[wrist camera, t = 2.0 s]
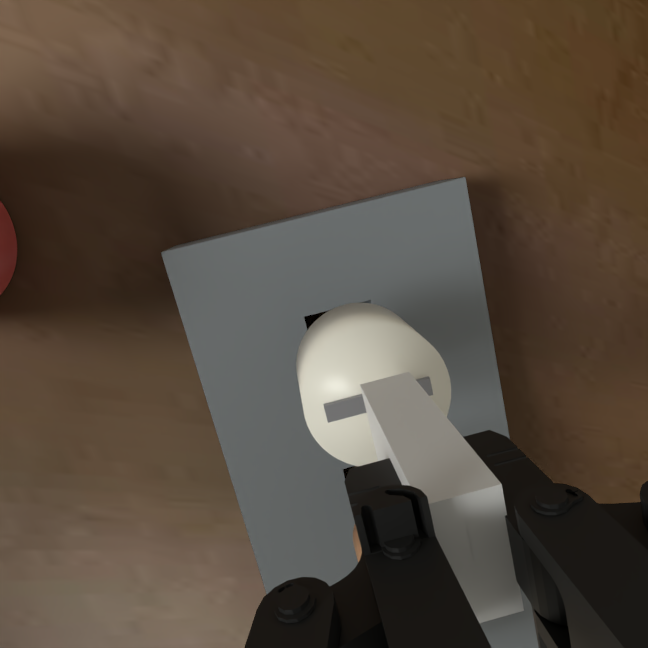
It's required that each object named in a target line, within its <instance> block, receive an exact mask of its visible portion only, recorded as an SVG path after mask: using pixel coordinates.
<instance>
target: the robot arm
mask: <svg viewBox="0 0 648 648" xmlns="http://www.w3.org/2000/svg"><path fill="white" fill-rule="evenodd" d="M360 387H361V391H362V395H363V399H364V404H365V408H366V412H367V416H368V421H369V425H370V429H371V433H372V438H373V442H374V446H375V450H376V455H377V459H378V461H377V462H373V463H369V464H366V465H362V466H358V467H354V468H351V469H350V470H349V472H348V474H347V477H346V479H345V481H344V482H345V486H346V490H347V494H348V498H349V502H350V506H351V510H352V514H353V518H354V521H355V525H356V529H357V533H358V537H359V541H360V545H361V548H362V554H361V558H360V561H359V562H358V564H357V566H356V567H355V568H354V569H353V570H352V571H351V572H350V573H349V574H348V575H347V576H346V577H344V578H343V579H341V580H340V581H339V582H337V583H335V584H333V585H331V586H329V585H328V584H327V583H326V582H325V581H322V580H320V579H318V578H315V577H299V578H295V579H291V580H287V581H286V582H284V583H282V584H280V585H278V586H276V587H274V588H273V589H272V590H271V591H270V592H269V593H268V594H267V595H266V596H265V597H264V598H263V600H262V601H261V603H260V605H259V607H258V609H257V611H256V614H255V617H254V620H253V624H252V627H251V630H250V633H249V636H248V639H247V642H246V645H245V648H492V647H491V645H490V643H489V641H488V639H487V637H486V635H485V633H484V632H483V630H482V628H481V626H480V624H479V623H482V622H486V621H489V620H493V619H496V618H500V617H503V616H507V615H511V614H514V613H518V612H521V611H524V608H523V602H522V596H521V591H520V587H521V589H522V591H523V592H524V594H525V595H526V597H527V598H528V600H529V601H530V603H531V606H532V611H533V617H534V623H535V629H536V634H537V640H538V646H539V648H648V481H647V482H646V483H644V484H643V485H642V487H641V491H640V500H641V502H637V503H619V504H598V503H596V502H595V501H594V500H593V499H592V498H591V497H590V496H589V495H588V494H586V493H585V492H583V491H581V490H580V489H578V488H576V487H572V486H569V485H566V484H556V483H553V482H552V481H551V480H550V479H549V478H548V477H547V476H546V475H545V474H544V473H543V472H542V471H541V470H540V469H539V468H538V467H537V466H536V465H535V464H534V463H533V462H532V461H531V460H530V459H529V458H526V455H525V454H524V453H523V452H522V451H521V450H520V449H518V448H517V446H516V445H515V444H514V443H513V442H512V441H511V440H510V439H509V438H508V437H507V436H504V435H501V434H499V433H496V432H494V431H491V430H487V431H483V432H479V433H475V434H472V435H468V436H464V437H462V435H461V434H460V433H459V432H458V430H457V429H456V428H455V427H454V426H453V424H452V423H451V422H450V421H449V420H448V418H447V417H446V416H445V415H444V413H443V412H442V411H441V410H440V409H439V407H438V406H437V405H436V404H435V403H434V401H433V400H432V399H431V398H430V396H429V395H428V394H427V393H426V392H425V390H424V389H423V388H422V387H421V386H420V384H419V383H418V382H417V381H416V379H415V378H414V377H413V376H412V375H411V373H410V372H406V373H402V374H398V375H394V376H391V377H387V378H383V379H379V380H375V381H371V382H368V383H364V384H360Z"/></svg>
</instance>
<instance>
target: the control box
mask: <svg viewBox="0 0 648 648" xmlns="http://www.w3.org/2000/svg"><path fill="white" fill-rule="evenodd" d="M161 255H162V258H163V261H164V264H165V267H166V271H167V274H168V277H169V280H170V284H171V287H172V290H173V293H174V296H175V300H176V303H177V306H178V309H179V313H180V316H181V319H182V322H183V326H184V329H185V332H186V335H187V338H188V342H189V345H190V348H191V351H192V355H193V358H194V361H195V364H196V367H197V371H198V374H199V377H200V380H201V384H202V387H203V390H204V393H205V397H206V400H207V403H208V406H209V409H210V413H211V416H212V419H213V422H214V426H215V429H216V432H217V435H218V438H219V442H220V445H221V448H222V451H223V455H224V458H225V461H226V464H227V468H228V471H229V474H230V477H231V480H232V484H233V487H234V490H235V493H236V497H237V500H238V503H239V506H240V509H241V513H242V516H243V519H244V522H245V526H246V529H247V532H248V535H249V538H250V542H251V545H252V548H253V551H254V555H255V558H256V561H257V564H258V568H259V571H260V574H261V577H262V580H263V584H264V587H265V590H266V593H267V594H268V593H269V592H270V591H271V590H272V589H273V588H274V587H276V586H278V585H280V584H282V583H284V582H286V581H287V580H291V579H295V578H299V577H315V578H318V579H320V580H322V581H325V582H326V583H327V584H328V585H329V586H331V585H333V584H335V583H337V582H339V581H340V580H341V579H343V578H344V577H346V576H347V575H348V574H349V573H350V572H351V571H352V570H353V569H354V568H355V567H356V566H357V564H358V560H357V556H356V552H355V548H354V544H353V529H354V525H355V521H354V518H353V514H352V510H351V506H350V502H349V498H348V494H347V490H346V486H345V482H344V481H345V476H344V472H343V469H345V468H349V467H353V466H354V465H351V464H348V463H345V462H343V461H341V460H338V459H337V458H335V457H333V456H332V455H330V454H329V453H328V452H327V451H325V450H324V449H323V448H322V447H321V446H320V445H319V444H318V443H317V441H316V440H315V438H314V437H313V436H312V434H311V432H310V430H309V428H308V426H307V423H306V420H305V417H304V411H303V406H302V400H301V394H300V389H299V383H298V377H297V370H296V360H297V353H298V349H299V346H300V343H301V340H302V339H303V337H304V335H305V333H306V332H307V326H306V323H305V319H304V317H305V316H309V315H313V314H317V313H321V312H325V311H329V310H332V309H334V308H336V307H339V306H342V305H345V304H350V303H370V304H375V305H379V306H382V307H384V308H386V309H388V310H390V311H392V312H393V313H395V314H396V315H398V316H399V317H400V318H401V319H402V320H404V321H405V322H406V323H407V324H408V325H409V326H411V327H412V328H413V329H414V330H415V331H416V332H418V333H419V334H420V335H421V336H422V337H423V338H425V339H426V340H427V341H428V342H429V343H430V344H431V345H432V346H433V347H434V348H435V349H436V350H437V352H438V353H439V354H440V356H441V357H442V359H443V361H444V363H445V365H446V367H447V370H448V373H449V377H450V383H451V401H450V407H449V411H448V415H447V418H448V420H449V421H450V422H451V423H452V424H453V426H454V427H455V428H456V429H457V430H458V432H459V433H460V434H461V435H462V437H464V436H468V435H472V434H475V433H479V432H483V431H487V430H491V431H494V432H496V433H499V434H501V435H504V436H507V437H508V438H509V439H510V437H509V431H508V426H507V420H506V414H505V408H504V402H503V396H502V390H501V384H500V378H499V372H498V367H497V361H496V355H495V349H494V343H493V337H492V331H491V325H490V319H489V313H488V308H487V302H486V296H485V290H484V284H483V278H482V272H481V266H480V260H479V254H478V249H477V243H476V237H475V231H474V225H473V219H472V213H471V207H470V201H469V195H468V189H467V184H466V178H465V177H462V178H455V179H447V180H440V181H435V182H431V183H427V184H423V185H419V186H415V187H411V188H407V189H403V190H399V191H395V192H391V193H387V194H383V195H379V196H374V197H370V198H366V199H362V200H358V201H354V202H350V203H346V204H342V205H338V206H334V207H330V208H326V209H322V210H318V211H314V212H310V213H306V214H302V215H298V216H294V217H290V218H285V219H281V220H277V221H273V222H269V223H265V224H261V225H257V226H253V227H249V228H245V229H241V230H237V231H233V232H229V233H225V234H221V235H217V236H213V237H209V238H205V239H200V240H196V241H192V242H188V243H184V244H180V245H176V246H174V247H172V248H169V249H167V250H165V251H163V252H161ZM520 591H521V596H522V602H523V608H524V611H521V612H518V613H514V614H511V615H507V616H503V617H500V618H496V619H493V620H489V621H486V622H482V623H479V624H480V626H481V628H482V630H483V632H484V633H485V635H486V637H487V639H488V641H489V643H490V645H491V647H492V648H539V646H538V640H537V634H536V629H535V623H534V617H533V611H532V606H531V603H530V601H529V600H528V598H527V597H526V595H525V594H524V592H523V591H522V589H521V587H520Z"/></svg>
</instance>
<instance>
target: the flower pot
mask: <svg viewBox="0 0 648 648" xmlns="http://www.w3.org/2000/svg"><path fill="white" fill-rule="evenodd" d="M16 261H17V239H16V234H15V230H14V226H13V223H12V220H11V218H10V216H9V214H8V212H7V210H6V208H5V207H4V205H3V204H2V202H1V201H0V295H1V294H2V293H3V292H4V290H5V289H6V287H7V286H8V284H9V282H10V280H11V278H12V276H13V273H14V270H15V266H16Z"/></svg>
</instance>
